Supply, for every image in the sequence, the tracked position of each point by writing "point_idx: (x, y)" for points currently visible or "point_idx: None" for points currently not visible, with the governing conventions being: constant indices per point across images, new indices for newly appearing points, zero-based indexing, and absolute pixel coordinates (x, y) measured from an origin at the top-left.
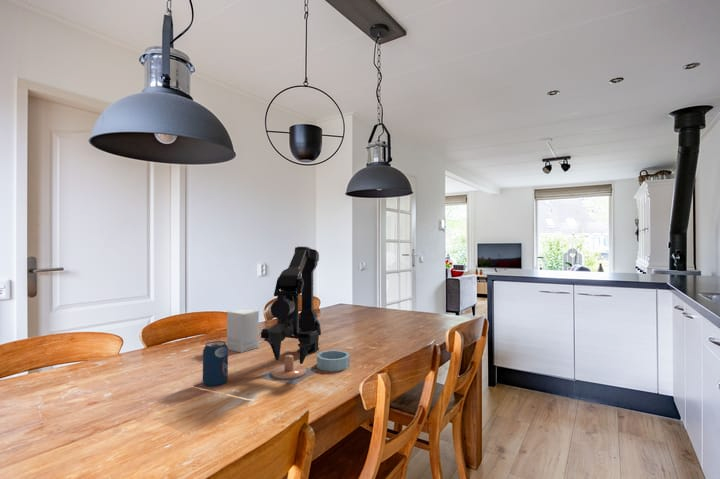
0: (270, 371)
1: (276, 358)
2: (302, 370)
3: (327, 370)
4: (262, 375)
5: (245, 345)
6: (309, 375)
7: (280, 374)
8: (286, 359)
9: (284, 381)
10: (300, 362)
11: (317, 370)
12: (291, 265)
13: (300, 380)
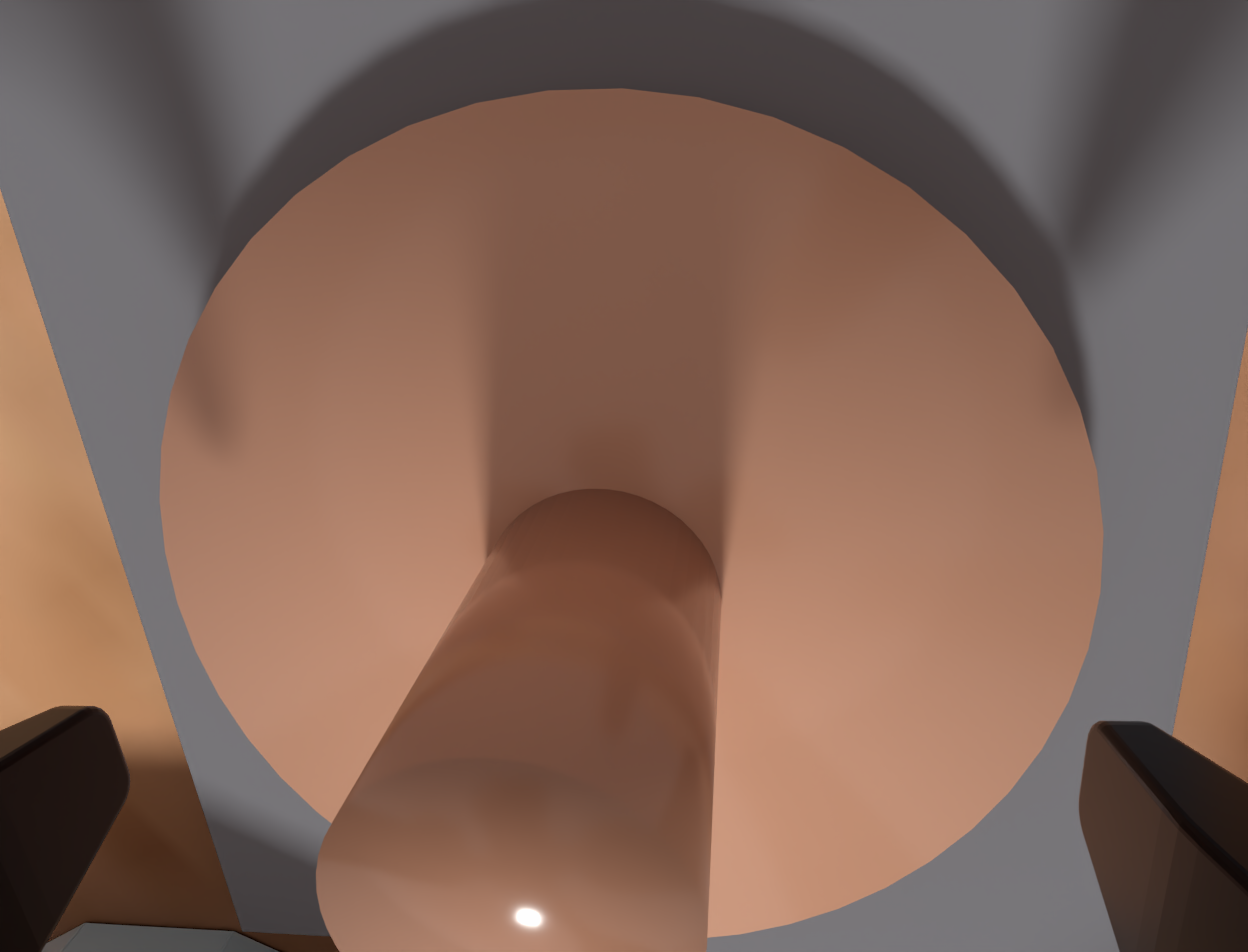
0: (1163, 466)
1: (1132, 756)
2: (309, 708)
3: (98, 949)
4: (1219, 75)
5: None
6: (149, 637)
7: (566, 211)
8: (505, 694)
9: (292, 24)
10: (21, 728)
11: (241, 901)
12: None
13: (50, 301)
